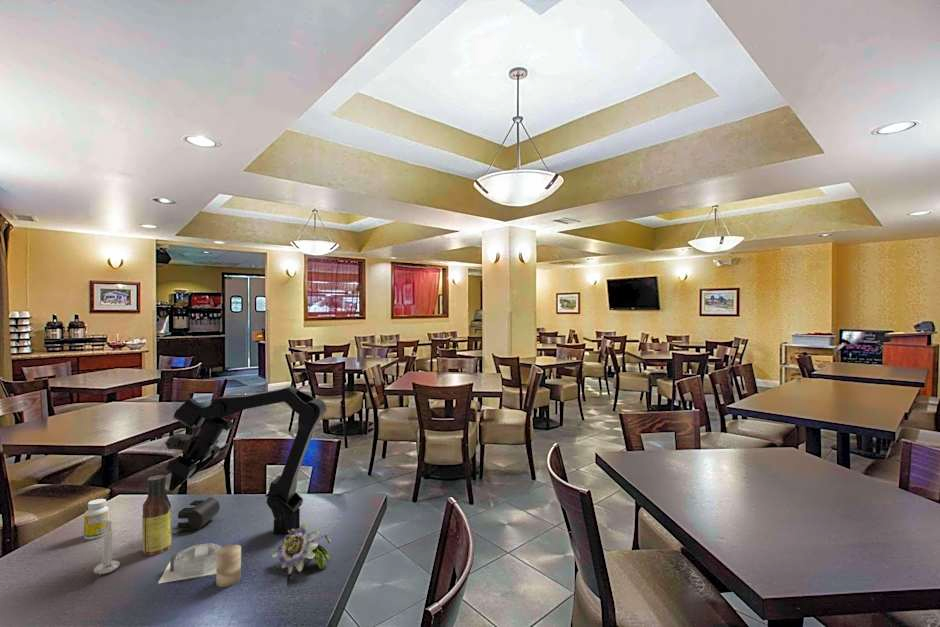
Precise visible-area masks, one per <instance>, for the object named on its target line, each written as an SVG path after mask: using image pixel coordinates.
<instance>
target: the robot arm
mask: <svg viewBox="0 0 940 627" xmlns="http://www.w3.org/2000/svg"><path fill="white" fill-rule="evenodd" d="M279 403H284V404H285V403H286V404H287V405H288V406H289V407H290V409H291V410H292V411H293V412H295V413H297V415H298V419H297V432H296V434H295V436H294V440H293V443H292V445H291V447H290V450H289V454H288V456H287V460H286V462H285V464H284V467H283V470H282V471H281V472H282V473H281V475H278V476H276V478H274V480H272V481H271V482H270V484H269V490H268V492H267V493H266V495H265V498H266V504H267V506H268V508H269V509H270V510H271V513H272V515H273V535H275V536H276V535H279V536H285V535H288V534H289V533H288V530H290V532H291V529H296V530H297V528H301V525H300V520H301V519H300V516H301V513H300V511H301V508H300V507H302V505H303V502H304V498H303V497H302V496H300V494H298V492H296V491H297V486H298V478H297V477H298V475H299V471H300V468H301V466H302V463H303V462H304V458H305V454H306V453H307V450H308V447H309V444H310V441H311V439H312V435H313V434H314V431H315V430H316V428H317V426H319V424H320V422H321V421H322V419H323V417H324V416H325V413H326V412H327V405H326V403H325V402H324V401H323V400H321V399H318V398H315V397H313V396H312V395H310V394H308V393H305V392H303V391H301V390H300V389H298V388H296V387H295V386H292V385H290V386H287V387H284V388H278V389H274V390H268V391H263V392H257V393H253V394H227V395H226V394H225V395H224V396H221V397H217V398H214V399H213V400H212V402H211V403H210V404H209V405H207V406H206V405H204V404H202V403H200V402H198V401H196V399H194V398H192V397H191V398H187V399H186V400H185V402H184V403H182V404H181V405H180V407H178V408H177V409H176V410H175V412H174V414H173V419H175V421H177V422H180V423H182V424H184V425H185V426H187V427H189V428H190V429H194V428H196V427H199V429H198V431H197V433H196V434H195V435H192V434H186V433H175V434H173V435H171V436H169V437H168V438H167V440H166V442H165V445H166V446H165V447H166V448H167V450H179V451H181V454H183V455H186V457H187V458H186V457H184V456H182V455H178V456H175V457H173V458H172V459H170V460H168V461H167V463H166V464H165V467H164V468H165V470H167V471H168V472H170V474H171V475H170V476H171V477H170V480H169V485H168V490H169V491H170V492H174V491H175V490H176V489H177V488H178V487H179V486H181V485H182V484H183V483H184V482H185V481H186V480H188V479H192V478H193V477H194V476H195V475H196V474H197V473H199V472H200V471H202V470H203V469H204V468H205V467H206V466H207V465H208V464H209V463H211V462H212V461H213V460H214V459H215V458H216V457H218V456H219V454H220V453H221V448H220V446H218V443H219V442H220V441H219V438H220V437H221V434H222V433H223V431H224V430H225V431H229V430H231V429H233V428H234V426H235V425H234V423H233V422H232V419H231V418H230V419H225V417H228V416H231V415H235V414H236V413H239V412H241V411H245V410H248V409H252V408H253V409H254V408H258V407H264V406H269V405H273V404H275V405H276V404H279Z"/></svg>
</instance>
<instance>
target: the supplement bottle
mask: <svg viewBox="0 0 940 627" xmlns="http://www.w3.org/2000/svg"><path fill="white" fill-rule="evenodd" d="M87 508H88V509H87V510H86V511H84V518H83V538H84V539H86V540H95V538H96V539H99V537H100V538H103V536H104V535H103V534H104V523H105V522H107V521H110V519H109V516H110V511H109V510H110V509H109V507H108V506H107V499H106V498H98V499H93V500H89V502H87Z"/></svg>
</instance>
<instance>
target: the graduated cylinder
mask: <svg viewBox="0 0 940 627" xmlns="http://www.w3.org/2000/svg"><path fill="white" fill-rule="evenodd" d="M103 535H104V536H102V551H101V552H102V554H101V555H102V556H101V557H102V559H101V560H102V561H101V563H99V564H97V566H95V567H94V569H93V573H94V574H98V577H100V576H101V575H107V574H110V573H112V572H113V571H114V570H116V569H118V568H119V566H120V561H118V560H112V559H113V558H112V557H113V530H112V521H111V520H109V521H107V522H105V523H104V534H103Z"/></svg>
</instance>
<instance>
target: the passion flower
mask: <svg viewBox="0 0 940 627" xmlns="http://www.w3.org/2000/svg"><path fill="white" fill-rule="evenodd" d="M307 532H308V524H307V523H306V522H305V523H303V524H302V525H300V528H297V530H296V529H291V532H290V530H288V533H289V534H288V535H284V536H285V537H283V539H281V542H282V544H281V545H278V547H277V550H276V551H274V552H273V553H272V554H271V557H272V559H277V558H279V560H280V562H281V566H280V567H281V568H280V569H287V574H286V575H287V576H290V575H292V573H293V572H294V571H295V570H294V569H295V568H296V570H297V571H298V572H302V571H303V569H304V567H305V562H306V559H308V560H313V559H314V561H315V562H316V564H317V566H318V568H319V570H323V569H324V568H325V558H326V560H327V563H329V556H330V555H329V551H328V550H327V549H326V548H325V547H324V546H322V545H321V544H319V543H318V542H317V541H318V540H320V539H322V538H325V539H326V540H327V543H328V544H331V539H330V538H329V537H328V534H324V535H322V536H321V537H318V536H319V534H320V531H317V530H316V531H313V532H311V533H307ZM317 537H318V538H317ZM315 539H316V540H315Z"/></svg>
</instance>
